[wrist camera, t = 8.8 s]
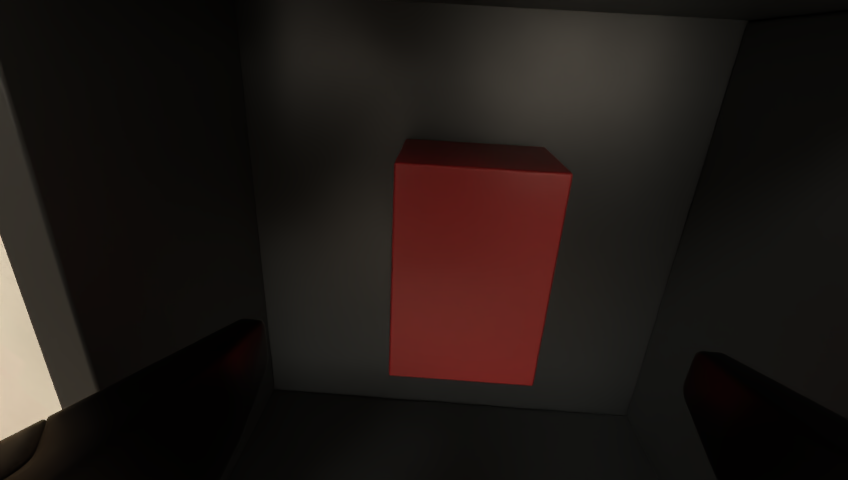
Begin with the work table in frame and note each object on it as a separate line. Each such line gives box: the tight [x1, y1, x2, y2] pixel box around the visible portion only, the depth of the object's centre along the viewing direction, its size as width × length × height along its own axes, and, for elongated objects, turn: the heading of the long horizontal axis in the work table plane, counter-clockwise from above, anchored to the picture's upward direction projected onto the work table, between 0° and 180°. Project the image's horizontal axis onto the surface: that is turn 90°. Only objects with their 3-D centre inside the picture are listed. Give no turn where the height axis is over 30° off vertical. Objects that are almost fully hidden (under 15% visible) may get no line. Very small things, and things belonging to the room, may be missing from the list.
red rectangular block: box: [389, 139, 573, 386], centre depth 12 cm, size 6×4×3 cm, turn 177°
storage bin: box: [0, 0, 848, 480], centre depth 11 cm, size 15×15×8 cm
